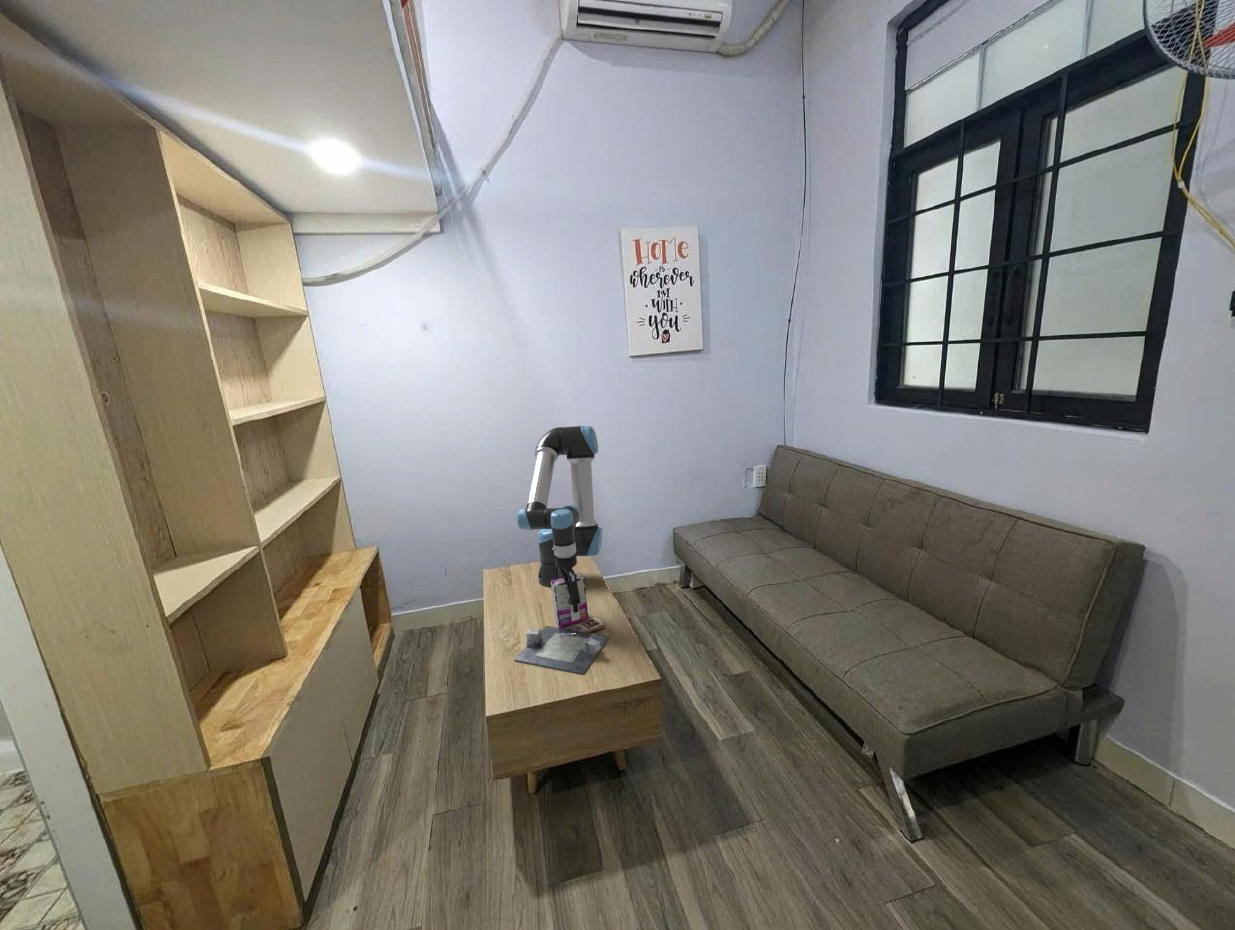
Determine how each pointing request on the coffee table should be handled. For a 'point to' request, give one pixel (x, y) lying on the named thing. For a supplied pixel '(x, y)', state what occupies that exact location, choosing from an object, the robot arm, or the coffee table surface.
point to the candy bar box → (568, 601)
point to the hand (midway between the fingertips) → (570, 612)
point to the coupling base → (561, 649)
